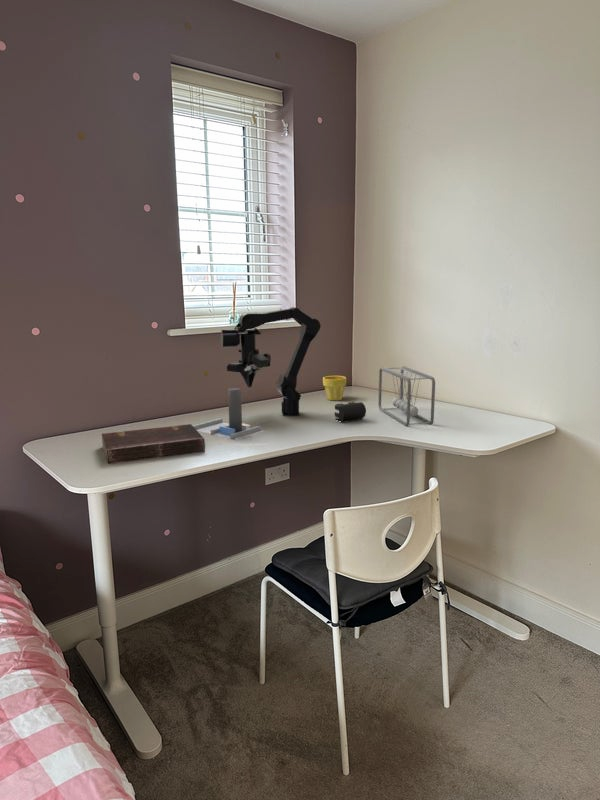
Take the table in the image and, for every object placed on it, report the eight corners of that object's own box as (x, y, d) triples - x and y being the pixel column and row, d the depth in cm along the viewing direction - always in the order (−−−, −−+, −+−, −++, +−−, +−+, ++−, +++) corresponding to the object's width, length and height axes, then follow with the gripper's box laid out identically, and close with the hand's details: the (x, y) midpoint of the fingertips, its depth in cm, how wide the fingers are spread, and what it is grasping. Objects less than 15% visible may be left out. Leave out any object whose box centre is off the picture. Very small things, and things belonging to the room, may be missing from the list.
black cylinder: (344, 424, 211) (344, 406, 210) (333, 420, 217) (333, 402, 216) (366, 421, 216) (366, 403, 215) (355, 417, 222) (355, 400, 221)
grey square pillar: (241, 429, 202) (239, 388, 199) (243, 432, 198) (242, 390, 195) (228, 430, 201) (227, 388, 198) (230, 433, 197) (229, 390, 194)
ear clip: (250, 428, 202) (250, 425, 202) (246, 430, 201) (246, 426, 200) (242, 427, 205) (242, 423, 204) (238, 428, 203) (238, 424, 203)
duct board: (264, 432, 200) (264, 424, 200) (236, 441, 190) (236, 432, 189) (217, 422, 215) (216, 414, 214) (188, 430, 204) (188, 422, 204)
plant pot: (318, 399, 254) (318, 377, 252) (332, 395, 262) (332, 374, 260) (336, 402, 248) (337, 380, 245) (350, 398, 255) (350, 377, 253)
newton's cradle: (434, 425, 208) (436, 377, 205) (407, 427, 206) (408, 378, 202) (401, 407, 237) (403, 365, 233) (377, 409, 235) (378, 366, 231)
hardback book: (108, 465, 168) (106, 449, 167) (102, 448, 185) (101, 433, 184) (205, 453, 179) (204, 437, 178) (191, 438, 196) (191, 424, 195)
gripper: (247, 350, 205) (248, 393, 208) (280, 345, 219) (281, 385, 223) (225, 348, 211) (226, 390, 215) (258, 343, 226) (259, 382, 229)
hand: (249, 387), depth 220 cm, fingers closed
